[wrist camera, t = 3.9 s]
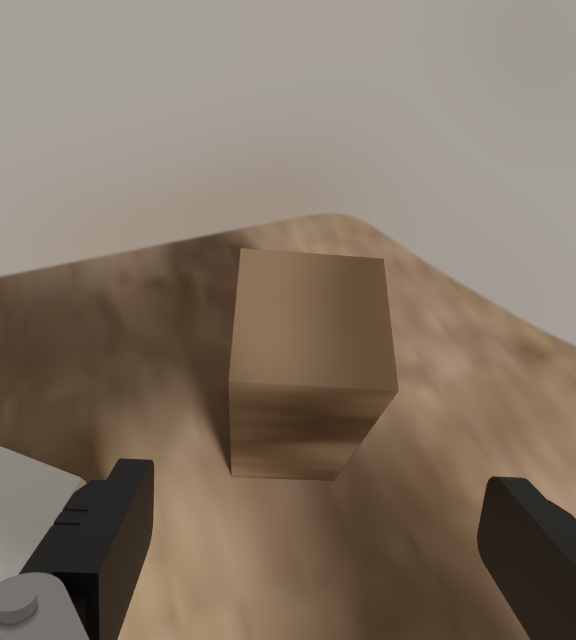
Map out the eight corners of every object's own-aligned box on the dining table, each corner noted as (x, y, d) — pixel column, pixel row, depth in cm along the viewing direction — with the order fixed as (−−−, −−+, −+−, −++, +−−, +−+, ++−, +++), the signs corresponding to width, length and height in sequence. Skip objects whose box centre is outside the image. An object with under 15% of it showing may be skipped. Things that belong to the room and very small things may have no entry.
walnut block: (231, 476, 21) (228, 381, 12) (239, 382, 23) (240, 247, 15) (333, 481, 21) (398, 390, 13) (330, 387, 23) (383, 258, 15)
